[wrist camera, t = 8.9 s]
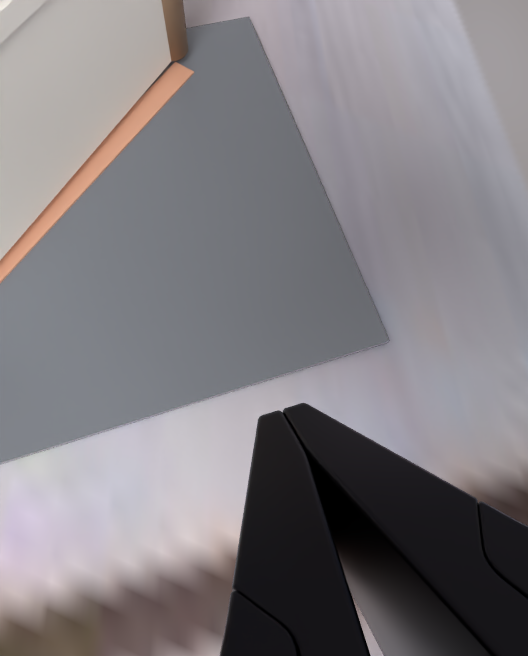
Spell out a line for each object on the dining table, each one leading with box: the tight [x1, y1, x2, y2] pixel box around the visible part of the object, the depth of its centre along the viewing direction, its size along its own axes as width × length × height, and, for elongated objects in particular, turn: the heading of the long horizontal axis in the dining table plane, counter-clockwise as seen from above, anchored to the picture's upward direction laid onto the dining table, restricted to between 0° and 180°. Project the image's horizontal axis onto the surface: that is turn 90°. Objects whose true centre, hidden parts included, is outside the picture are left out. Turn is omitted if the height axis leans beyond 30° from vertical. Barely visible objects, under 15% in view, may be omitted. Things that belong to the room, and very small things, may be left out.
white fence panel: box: [0, 0, 188, 260], centre depth 17 cm, size 19×2×9 cm, turn 151°
